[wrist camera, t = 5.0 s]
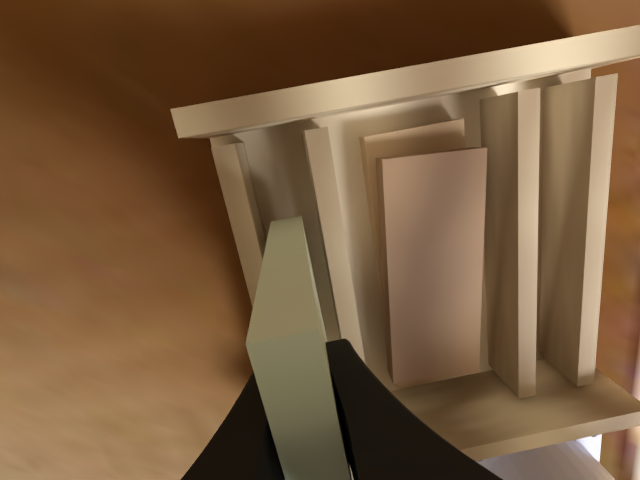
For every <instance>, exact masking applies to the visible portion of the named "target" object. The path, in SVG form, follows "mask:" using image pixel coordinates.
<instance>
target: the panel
mask: <svg viewBox="0 0 640 480" xmlns="http://www.w3.org/2000/svg"><path fill="white" fill-rule="evenodd" d="M325 342H327V338H326V333H325V328H324V323H323V318H322V314H321V309H320V304H319V299H318V294H317V289H316V284H315V279H314V275H313V270H312V265H311V260H310V255H309V250H308V245H307V240H306V235H305V231H304V226H303V221H302V216H296V217H291V218H286V219H281V220H276V221H271V223H270V228H269V232H268V237H267V242H266V247H265V252H264V257H263V261H262V266H261V271H260V276H259V281H258V286H257V290H256V295H255V300H254V305H253V310H252V315H251V319H250V324H249V329H248V334H247V339H246V347H247V351H248V354H249V358H250V361H251V364H252V368H253V371H254V375H255V378H256V382H257V385H258V388H259V392H260V395H261V399H262V402H263V405H264V409H265V412H266V416H267V419H268V422H269V426H270V429H271V433H272V436H273V440H274V443H275V446H276V450H277V453H278V457H279V460H280V463H281V467H282V470H283V474H284V477H285V480H353V475H352V472H351V468H350V465H349V460H348V456H347V451H346V446H345V441H344V436H343V431H342V426H341V422H340V417H339V412H338V407H337V402H336V397H335V392H334V387H333V383H332V378H331V373H330V368H329V363H328V357H327V350H326V343H325Z"/></svg>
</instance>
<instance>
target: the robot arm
mask: <svg viewBox="0 0 640 480" xmlns="http://www.w3.org/2000/svg"><path fill="white" fill-rule="evenodd" d="M325 343H326V350H327V357H328V363H329V368H330V373H331V378H332V383H333V387H334V392H335V397H336V402H337V407H338V412H339V417H340V422H341V426H342V431H343V436H344V441H345V446H346V451H347V456H348V460H349V465H350V468H351V472H352V475H353V479H354V480H615V479H614V478H613V476H612V475H611V474H610V473H609V472H608V471H607V470H606V469H605V468H604V467H603V466H602V465H601V464H600V463H599V460H600V449H601V438H602V434H600V435H595V436H590V437H586V438H581V439H576V440H572V441H567V442H562V443H558V444H553V445H548V446H544V447H539V448H534V449H530V450H525V451H520V452H516V453H511V454H507V455H502V456H497V457H493V458H488V459H483V460H479V461H475V460H473V459H472V458H470V457H469V456H467V455H466V454H464V453H463V452H461V451H460V450H458V449H457V448H456V447H454V446H453V445H452V444H450V443H449V442H448V441H446V440H445V439H444V438H442V437H441V436H440V435H439V434H437V433H436V432H435V431H434V430H432V429H431V428H430V427H429V426H427V425H426V424H425V423H424V422H423V421H421V420H420V419H419V418H418V417H417V416H416V415H414V414H413V413H412V412H411V411H410V410H409V409H408V408H407V407H406V406H404V405H403V404H402V403H401V402H400V401H399V400H398V399H397V398H396V397H395V396H394V395H393V394H392V393H391V392H390V391H389V390H388V389H387V388H386V387H385V386H384V385H383V384H382V382H381V381H380V380H379V379H378V378H377V377H376V376H375V375H374V374H373V373H372V371H371V370H370V369H369V368H368V367H367V365H366V364H365V363H364V362H363V360H362V359H361V358H360V357H359V355H358V354H357V352H356V351H355V350H354V348H353V346H352V345H351V343H350V341H348V340H347V339H345V338H344V339H339V340H334V341H329V342H325ZM181 480H285V477H284V474H283V470H282V467H281V463H280V460H279V457H278V453H277V450H276V446H275V443H274V440H273V436H272V433H271V429H270V426H269V422H268V419H267V416H266V412H265V409H264V405H263V402H262V399H261V395H260V392H259V388H258V385H257V382H256V378H255V375H254V371H253V373H252V375H251V377H250V378H249V380H248V382H247V384H246V385H245V387H244V389H243V391H242V392H241V394H240V396H239V397H238V399H237V401H236V402H235V404H234V405H233V407H232V409H231V410H230V412H229V414H228V415H227V417H226V418H225V420H224V421H223V423H222V424H221V426H220V427H219V429H218V430H217V431H216V433H215V434H214V436H213V437H212V439H211V440H210V442H209V443H208V445H207V446H206V447H205V449H204V450H203V452H202V453H201V454H200V456H199V457H198V458H197V460H196V461H195V462H194V464H193V465H192V466H191V467H190V469H189V470H188V471H187V472H186V474H185V475H184V476H183V477H182V479H181Z"/></svg>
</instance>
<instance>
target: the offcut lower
mask: <svg viewBox="0 0 640 480" xmlns="http://www.w3.org/2000/svg"><path fill="white" fill-rule="evenodd" d="M359 140H360V148H361V155H362V162H363V170H364V177H365V185H366V192H367V199H368V207H369V214H370V222H371V229H372V237H373V244H374V251H375V259H376V266H377V274H378V281H379V288H380V296H381V303H382V311H383V318H384V325H385V317H384V299H383V281H382V263H381V245H380V226H379V208H378V190H377V172H376V158H380V157H389V156H398V155H407V154H416V153H424V152H433V151H442V150H451V149H460V148H465V129H464V119H455V120H449V121H443V122H438V123H433V124H427V125H422V126H416V127H411V128H405V129H400V130H395V131H389V132H384V133H378V134H373V135H368V136H362V137H359ZM462 375H464V374H462ZM455 376H459V375H455ZM449 377H454V376H448V377H442V378H435V379H428V380H421V381H414V382H408V383H401V384H395V385H396V387H397V388H401V387H406V386H410V385H415V384H420V383H425V382H430V381H435V380H439V379H444V378H449Z"/></svg>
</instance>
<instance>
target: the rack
mask: <svg viewBox="0 0 640 480" xmlns="http://www.w3.org/2000/svg"><path fill="white" fill-rule="evenodd" d="M636 58H640V25H637V26H631V27H626V28H620V29H615V30H609V31H603V32H598V33H592V34H587V35H581V36H576V37H570V38H564V39H559V40H553V41H548V42H542V43H536V44H531V45H525V46H520V47H514V48H509V49H503V50H497V51H492V52H486V53H481V54H475V55H469V56H464V57H458V58H453V59H447V60H442V61H436V62H430V63H425V64H419V65H414V66H408V67H402V68H397V69H391V70H386V71H380V72H375V73H369V74H363V75H358V76H352V77H347V78H341V79H336V80H330V81H324V82H319V83H313V84H308V85H302V86H296V87H291V88H285V89H280V90H274V91H269V92H263V93H257V94H252V95H246V96H241V97H235V98H229V99H224V100H218V101H213V102H207V103H202V104H196V105H190V106H185V107H179V108H174V109H170V111H171V114H172V118H173V121H174V125H175V128H176V131H177V135H178V138H210V142H211V145H212V148H211V151H212V155H213V158H214V162H215V166H216V170H217V174H218V177H219V181H220V185H221V189H222V193H223V197H224V200H225V204H226V208H227V212H228V216H229V220H230V223H231V227H232V231H233V235H234V239H235V242H236V246H237V250H238V254H239V258H240V262H241V265H242V269H243V273H244V277H245V281H246V284H247V288H248V292H249V296H250V300H251V304H252V307H253V305H254V300H255V295H256V290H257V286H258V281H259V276H260V271H261V266H262V261H263V257H264V252H265V247H266V242H267V237H268V232H269V228H270V223H271V221H276V220H281V219H286V218H291V217H296V216H302V221H303V226H304V231H305V235H306V240H307V245H308V250H309V255H310V260H311V265H312V270H313V275H314V279H315V284H316V289H317V294H318V299H319V304H320V309H321V314H322V318H323V323H324V328H325V333H326V338H327V342H329V341H334V340H339V339H344V338H345V339H347V340H348V341H350V343H351V345H352V346H353V348H354V350H355V351H356V352H357V354H358V355H359V357H360V358H361V359H362V360H363V362H364V363H365V364H366V365H367V367H368V368H369V369H370V370H371V371H372V373H373V374H374V375H375V376H376V377H377V378H378V379H379V380H380V381H381V382H382V384H383V385H384V386H385V387H386V388H387V389H388V390H389V391H390V392H391V393H392V394H393V395H394V396H395V397H396V398H397V399H398V400H399V401H400V402H401V403H402V404H403V405H404V406H406V407H407V408H408V409H409V410H410V411H411V412H412V413H413V414H414V415H416V416H417V417H418V418H419V419H420V420H421V421H423V422H424V423H425V424H426V425H427V426H429V427H430V428H431V429H432V430H434V431H435V432H436V433H437V434H439V435H440V436H441V437H442V438H444V439H445V440H446V441H448V442H449V443H450V444H452V445H453V446H454V447H456V448H457V449H458V450H460V451H461V452H463V453H464V454H466V455H467V456H469V457H470V458H472V459H473V460H475V461H479V460H483V459H488V458H493V457H497V456H502V455H507V454H511V453H516V452H520V451H525V450H530V449H534V448H539V447H544V446H548V445H553V444H558V443H562V442H567V441H572V440H576V439H581V438H586V437H590V436H595V435H600V434H604V433H609V432H614V431H618V430H623V429H628V428H632V427H637V426H640V401H639V400H637V399H636V398H635V397H633V396H632V395H631V394H629V393H628V392H627V391H625V390H624V389H623V388H621V387H620V386H619V385H617V384H616V383H615V382H613V381H612V380H611V379H609V378H608V377H607V376H605V375H604V374H603V373H601V372H600V371H599V370H597V369H596V368H595V361H596V348H597V335H598V322H599V309H600V296H601V284H602V271H603V258H604V245H605V232H606V219H607V206H608V193H609V180H610V167H611V155H612V142H613V129H614V116H615V103H616V90H617V77H618V73H617V74H611V75H606V76H600V77H595V78H591V69H593V68H597V67H601V66H606V65H610V64H614V63H618V62H623V61H627V60H631V59H636ZM455 119H464V129H465V148H469V147H487V172H486V199H485V225H484V251H483V277H482V304H481V330H480V356H479V372H476V373H469V374H464V375H459V376H454V377H449V378H444V379H439V380H435V381H430V382H425V383H420V384H415V385H410V386H406V387H401V388H397V387H396V385H395V384H394V385H393V382H392V380H391V378H390V375H389V373H388V371H387V354H386V336H385V325H384V318H383V311H382V303H381V296H380V288H379V281H378V274H377V266H376V259H375V251H374V244H373V237H372V229H371V222H370V214H369V207H368V199H367V192H366V185H365V177H364V170H363V162H362V155H361V148H360V140H359V137H362V136H368V135H373V134H378V133H384V132H389V131H395V130H400V129H405V128H411V127H416V126H422V125H427V124H433V123H438V122H443V121H449V120H455ZM353 480H354V479H353Z"/></svg>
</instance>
